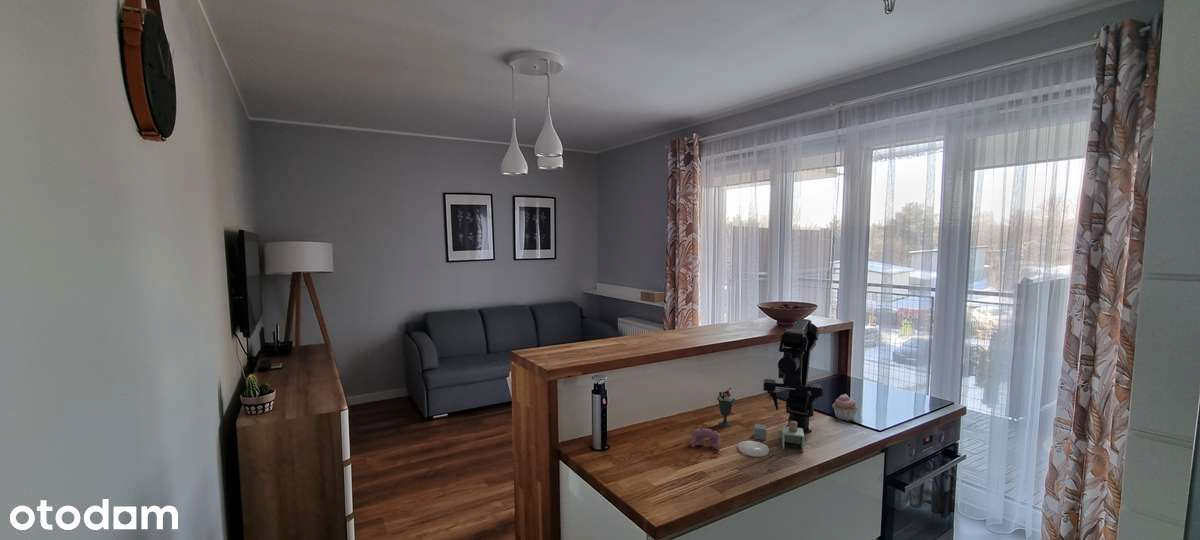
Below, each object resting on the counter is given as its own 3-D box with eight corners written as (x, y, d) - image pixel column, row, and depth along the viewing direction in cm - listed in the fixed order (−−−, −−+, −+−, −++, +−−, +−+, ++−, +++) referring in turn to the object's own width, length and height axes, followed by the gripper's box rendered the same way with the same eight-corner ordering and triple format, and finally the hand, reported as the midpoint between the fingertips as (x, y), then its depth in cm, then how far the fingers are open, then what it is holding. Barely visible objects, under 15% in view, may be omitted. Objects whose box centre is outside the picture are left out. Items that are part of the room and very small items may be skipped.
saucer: (758, 442, 166) (758, 439, 166) (774, 455, 156) (775, 452, 156) (732, 445, 164) (732, 442, 164) (747, 458, 154) (747, 455, 154)
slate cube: (765, 435, 172) (766, 425, 172) (765, 440, 168) (766, 429, 168) (754, 434, 173) (754, 423, 173) (754, 438, 169) (754, 427, 169)
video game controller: (720, 452, 162) (721, 430, 164) (720, 451, 158) (721, 429, 160) (691, 448, 165) (693, 427, 167) (690, 447, 161) (691, 426, 163)
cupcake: (862, 419, 187) (863, 395, 187) (850, 424, 182) (851, 399, 181) (839, 412, 195) (840, 388, 194) (826, 417, 190) (827, 392, 189)
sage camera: (802, 443, 165) (802, 420, 165) (803, 451, 159) (804, 427, 158) (781, 440, 167) (782, 417, 167) (782, 448, 161) (783, 424, 161)
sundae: (734, 428, 178) (735, 389, 177) (716, 427, 179) (717, 388, 178) (733, 422, 184) (734, 384, 183) (715, 420, 186) (716, 383, 185)
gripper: (819, 364, 166) (818, 407, 168) (763, 359, 172) (762, 401, 174) (823, 372, 156) (822, 418, 157) (764, 367, 162) (762, 411, 163)
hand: (791, 411), depth 163 cm, fingers open, 9 cm apart
